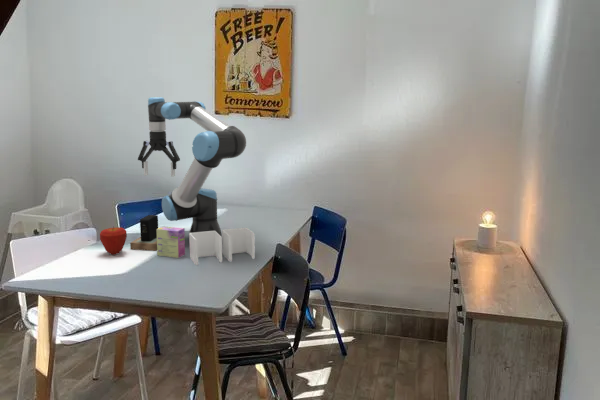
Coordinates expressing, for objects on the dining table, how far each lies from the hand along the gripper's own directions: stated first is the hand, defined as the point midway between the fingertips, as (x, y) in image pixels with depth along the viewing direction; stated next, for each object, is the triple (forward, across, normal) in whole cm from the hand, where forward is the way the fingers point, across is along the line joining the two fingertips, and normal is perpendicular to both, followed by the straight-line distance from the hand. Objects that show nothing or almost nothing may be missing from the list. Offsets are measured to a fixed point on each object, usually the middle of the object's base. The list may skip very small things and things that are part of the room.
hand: (159, 175), depth 276 cm
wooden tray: (+29, -3, +20) cm, 35 cm away
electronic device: (+26, -3, +20) cm, 33 cm away
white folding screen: (+29, -41, +32) cm, 59 cm away
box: (+29, -18, +32) cm, 47 cm away
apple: (+29, +7, +34) cm, 46 cm away
